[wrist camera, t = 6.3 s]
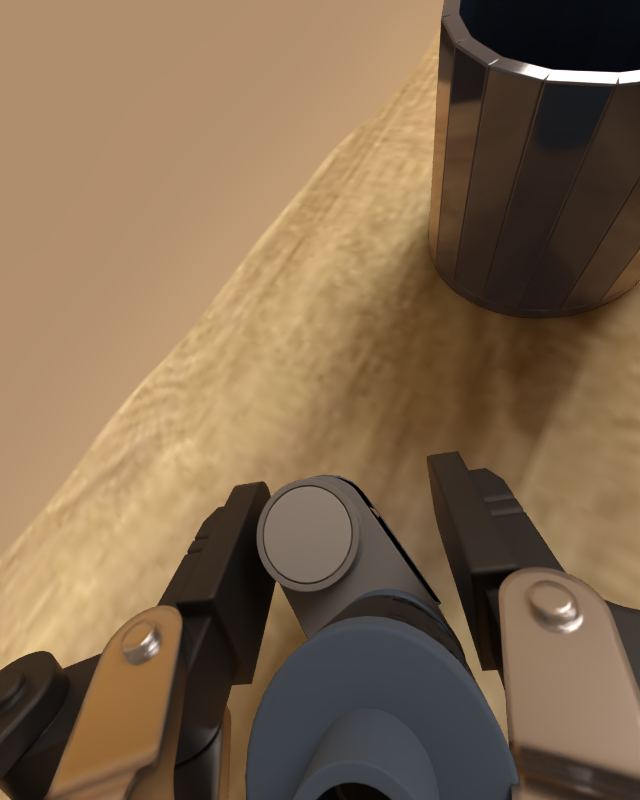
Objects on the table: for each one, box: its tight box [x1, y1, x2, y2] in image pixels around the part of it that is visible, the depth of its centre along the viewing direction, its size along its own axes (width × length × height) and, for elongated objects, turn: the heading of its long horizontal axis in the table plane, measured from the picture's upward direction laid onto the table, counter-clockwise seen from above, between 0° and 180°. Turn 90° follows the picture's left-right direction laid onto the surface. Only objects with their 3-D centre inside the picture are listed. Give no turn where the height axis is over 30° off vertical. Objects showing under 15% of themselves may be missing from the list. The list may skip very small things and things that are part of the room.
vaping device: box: [245, 475, 519, 800], centre depth 8 cm, size 3×5×12 cm, turn 32°
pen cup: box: [429, 0, 640, 318], centre depth 14 cm, size 10×10×9 cm
